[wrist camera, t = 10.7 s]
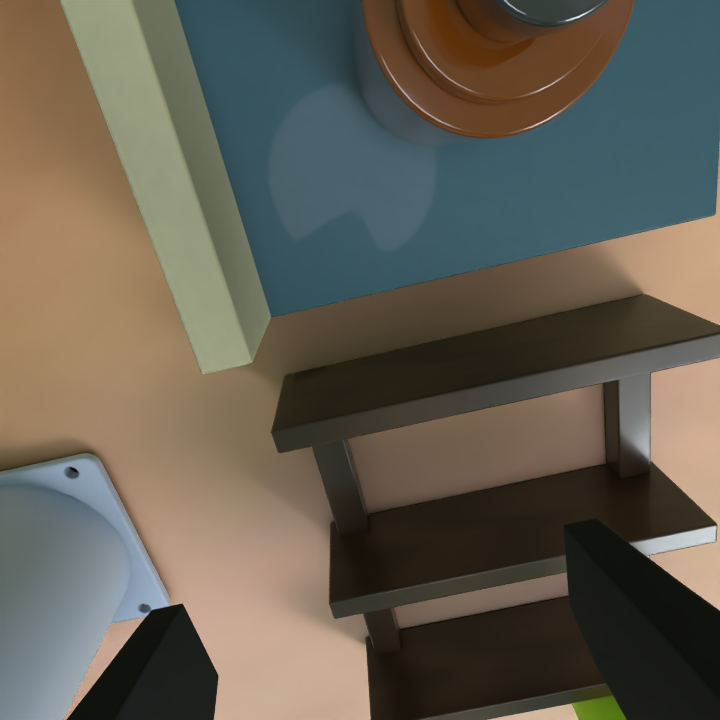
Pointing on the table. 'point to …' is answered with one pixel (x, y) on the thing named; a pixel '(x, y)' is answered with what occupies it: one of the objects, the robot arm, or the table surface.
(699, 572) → the table surface
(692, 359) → the shelf rack
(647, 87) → the sill
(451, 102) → the bottle
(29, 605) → the robot arm
